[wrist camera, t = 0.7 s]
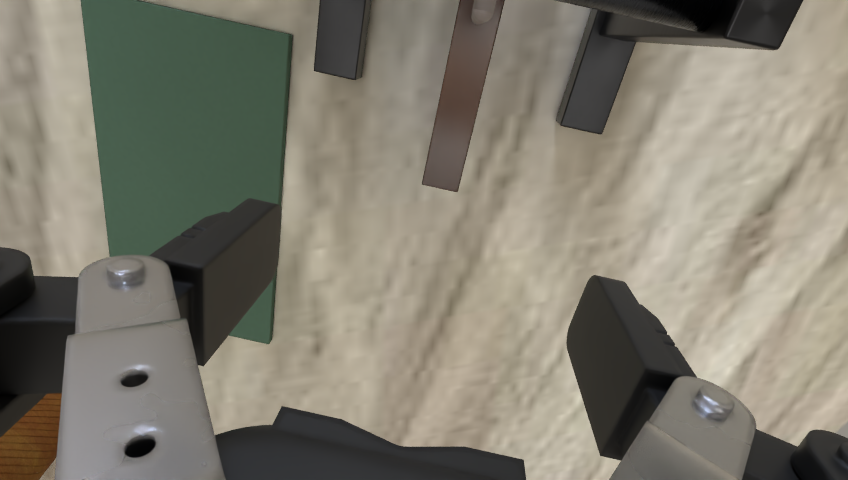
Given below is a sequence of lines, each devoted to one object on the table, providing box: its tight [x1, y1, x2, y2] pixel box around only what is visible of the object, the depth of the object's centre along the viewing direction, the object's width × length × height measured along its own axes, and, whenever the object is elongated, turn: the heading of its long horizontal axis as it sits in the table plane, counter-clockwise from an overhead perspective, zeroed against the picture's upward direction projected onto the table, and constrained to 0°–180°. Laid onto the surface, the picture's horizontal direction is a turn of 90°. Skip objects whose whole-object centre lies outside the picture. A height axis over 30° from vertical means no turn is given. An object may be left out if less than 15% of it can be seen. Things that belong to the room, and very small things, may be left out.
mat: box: [81, 0, 292, 344], centre depth 30 cm, size 22×12×1 cm, turn 169°
